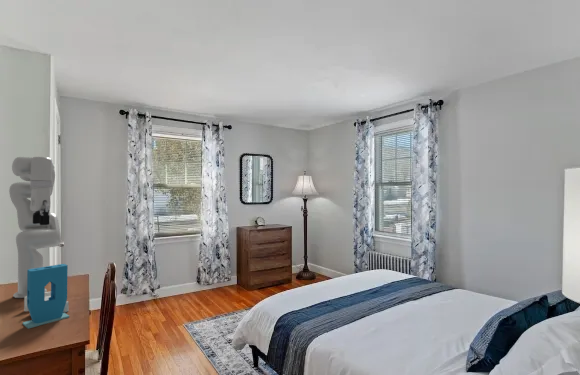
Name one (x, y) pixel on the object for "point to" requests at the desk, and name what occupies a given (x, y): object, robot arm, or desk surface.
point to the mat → (31, 324)
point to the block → (36, 292)
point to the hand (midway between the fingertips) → (40, 224)
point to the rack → (47, 294)
